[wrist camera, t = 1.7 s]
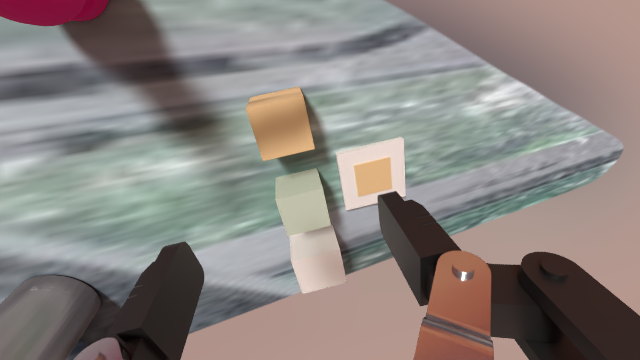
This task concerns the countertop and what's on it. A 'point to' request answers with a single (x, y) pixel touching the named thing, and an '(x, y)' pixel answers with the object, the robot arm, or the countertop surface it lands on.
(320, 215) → the sage block
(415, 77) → the countertop surface
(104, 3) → the pepper mill
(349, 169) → the tile
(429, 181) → the countertop surface
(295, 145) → the maple block
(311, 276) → the base block
